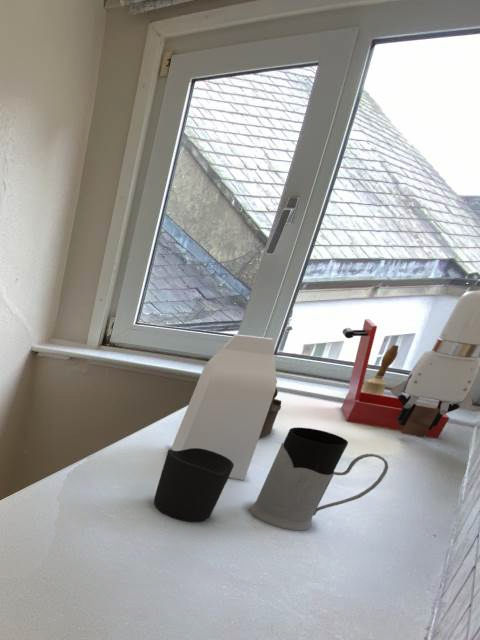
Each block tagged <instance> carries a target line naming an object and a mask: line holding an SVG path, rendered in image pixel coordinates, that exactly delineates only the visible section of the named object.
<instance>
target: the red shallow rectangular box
mask: <svg viewBox="0 0 480 640" xmlns="http://www.w3.org/2000/svg"><path fill="white" fill-rule="evenodd" d="M348 390H349V389H348ZM417 401H418V402H421V401H420V400H417ZM423 402H424V403H427V402H426V401H423ZM429 403H430V404H433V403H431V402H429ZM434 404H435V405H436V406H437V407H438V404H436V403H434ZM402 408H403V405H402V403H401V402H400V400H399V399H398V398H397V397H396V396H391V395H390V396H388V395H384V396H383V395H377V394H371V393H365V392H361V393H360V397H359V400H355V399H354V397H353V396H352V394H351V392H350V390H349V391H348V392H347V394H346V396H345V399H344V400H343V403H342V404H341V407H340V409H341V412H342V414H343V416H344V418H345V421H346V422H350V423H354V424H361V425H366V426H371V427H377V428H382V429H386V430H393V431H398V432H400V431H399V429H398V426H399V422H398V421H399V420H397V417H398V415H399V413H400V411H401V409H402ZM449 419H450V416H448V414H447V413H446V414H444V415H442V417H441V419H440V421H439V422H438V424H437V426H436V427H434V426H433V427H432V429H431V430H428V431H427V433H426V434H425V436H424V437H430V438H436V439H439V437H440V436H441V433H442V432H443V430H444V428H445V427H446V425H447V423H448V421H449Z"/></svg>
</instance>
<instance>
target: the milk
mask: <svg viewBox="0 0 480 640" xmlns="http://www.w3.org/2000/svg"><path fill="white" fill-rule="evenodd" d="M274 344H275V343H274V338H272V337H265V336H256V335H247V334H239V333H234V334H233V336H231V338H230V339H229V340H228V341H226V343H225V344H224V345H223V346H222V347H221V348H220V349H219V350H218V351H217V352H215V354H214V355H213V356H212V357H211V358H210V359H209V360H208V361H207V362H206V363H205V365H204V366H203V368H202V371H201V373H200V376H199V378H198V381H197V384H196V386H195V388H194V390H193V393H192V395H191V398H190V400H189V403H188V405H187V408H186V410H185V413H184V415H183V418H182V420H181V422H180V425H179V428H178V430H177V432H176V435H175V437H174V440H173V443H172V445H171V450H174V451H181V450H185V449H191V448H200V449H205V450H209V451H212V452H215V453H218V454H220V455H222V456H225V457H226V458H228V459H229V460H231V461H232V462H233V464H234V466H233V469H232V471H231V473H230V475H229V477H228V478H231V479H236V480H240V481H245V479H246V477H247V474H248V470H249V468H250V465H251V463H252V459H253V456H254V454H255V450H256V447H257V445H258V442H259V439H260V438H259V436H260V433H261V431H262V428H263V425H264V422H265V419H266V416H267V413H268V410H269V408H270V405H271V402H272V399H273V396H274V393H275V390H276V388H277V383H276V381H277V382H278V380H277V370H276V369H277V368H276V367H277V366H276V357H275V345H274Z"/></svg>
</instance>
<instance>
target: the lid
mask: <svg viewBox="0 0 480 640" xmlns="http://www.w3.org/2000/svg"><path fill="white" fill-rule="evenodd" d="M377 328H378V326H377V325H376V324H375V323H374V322H373V321H372V320H370V319H369V318H366V319H364V322H363V327H362V329H352V328H350V327H346V328H344V329H343V330H342V334H343V336H344V337H345V338H346V339H352V338H354V337H360V338H359V342H358V347H357V351H356V355H355V359H354V363H353V368H352V370H351V376H350V380H349V383H348V390H350V392H351V394H352V396H353V397H354V399H355V400H359V397H360V393H361V389H362V386H363V385H364V382H365V377H366V373H367V369H368V364H369V361H370V356H371V352H372V350H373V349H372V348H373V344H374V341H375V337H376V333H377Z"/></svg>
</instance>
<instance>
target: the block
mask: <svg viewBox="0 0 480 640" xmlns="http://www.w3.org/2000/svg"><path fill="white" fill-rule="evenodd" d="M418 401H419V400H417V401H416V402H415V403H414V404H413V406H412V412H411V414H410V416H409V417H408V419H407V421H406V423H405V425H400V424H399V426H398V429H399V431H398V432H400V433H401V434H402V435H408V436H413V437H418V438H425V437H426V436H425V434H426V433H427V431H428V429H429V427H430V426H431V424H432V422H433V420H434V419H435V417H436V415H437V413H438V412H439V410H440V409H439V408H438V407H437V406H438V405H437V404H436V403H432V404H430V403H431V402H426V403H424V402H425V401H420V402H418ZM435 404H436V405H437V406H436V405H435Z"/></svg>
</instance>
